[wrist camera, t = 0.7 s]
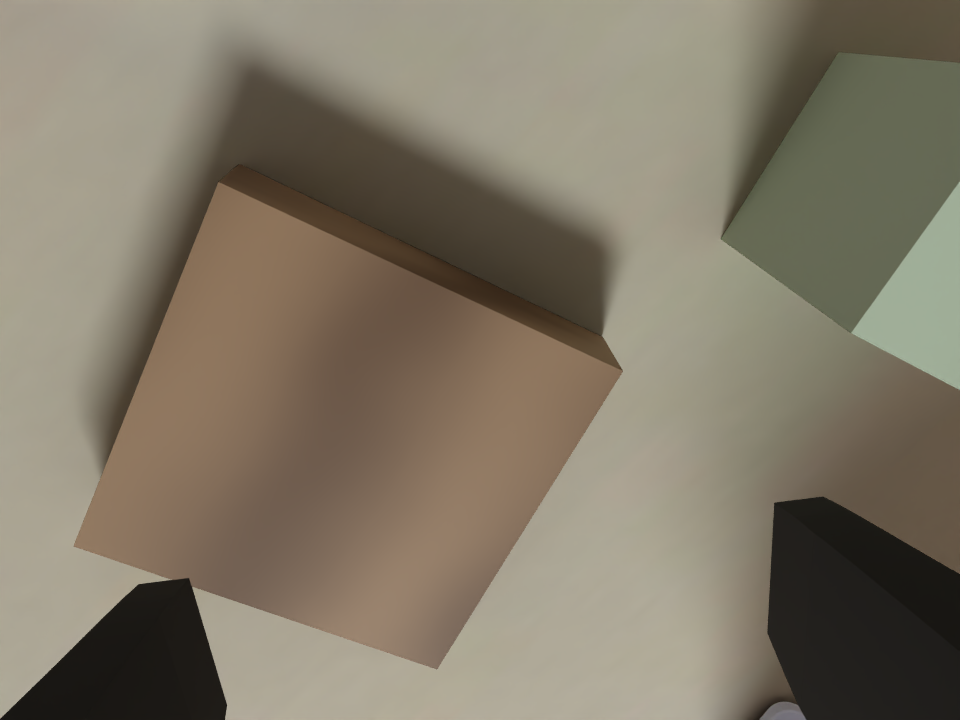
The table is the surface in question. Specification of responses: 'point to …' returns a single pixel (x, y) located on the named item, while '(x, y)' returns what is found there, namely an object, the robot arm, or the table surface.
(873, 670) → the robot arm
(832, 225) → the block
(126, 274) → the table surface
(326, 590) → the plinth
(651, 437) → the table surface
